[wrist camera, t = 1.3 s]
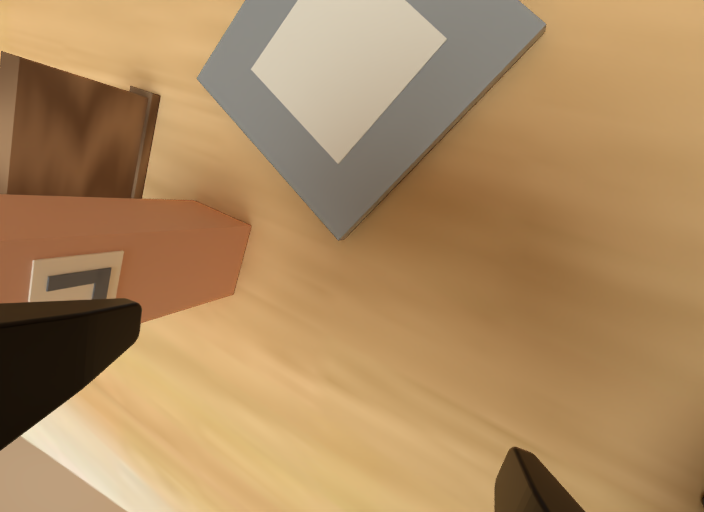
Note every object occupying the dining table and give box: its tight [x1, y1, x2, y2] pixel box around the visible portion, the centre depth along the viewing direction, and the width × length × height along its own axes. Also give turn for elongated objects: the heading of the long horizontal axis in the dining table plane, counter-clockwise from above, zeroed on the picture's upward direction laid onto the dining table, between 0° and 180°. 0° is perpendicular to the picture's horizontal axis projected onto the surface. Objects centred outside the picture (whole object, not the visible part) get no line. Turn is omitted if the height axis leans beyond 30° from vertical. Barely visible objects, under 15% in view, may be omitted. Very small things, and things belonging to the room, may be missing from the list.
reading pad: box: [197, 0, 546, 241], centre depth 20 cm, size 14×14×1 cm
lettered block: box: [0, 194, 251, 323], centre depth 19 cm, size 5×5×14 cm
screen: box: [0, 51, 160, 199], centre depth 25 cm, size 17×2×8 cm, turn 160°
